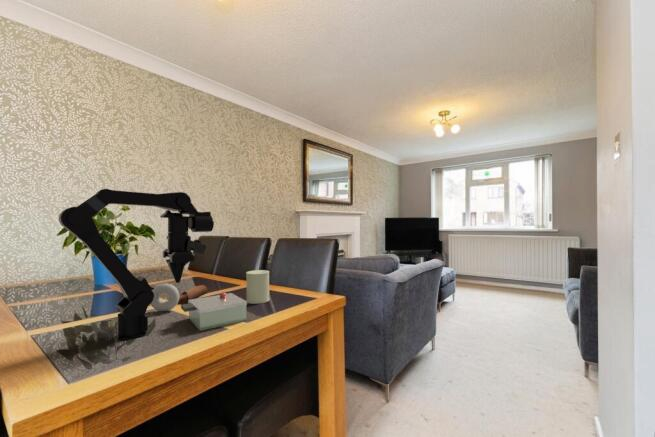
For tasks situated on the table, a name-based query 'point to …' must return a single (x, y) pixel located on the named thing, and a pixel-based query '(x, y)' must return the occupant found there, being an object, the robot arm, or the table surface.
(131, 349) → the table surface
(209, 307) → the lid
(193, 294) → the sunglasses case
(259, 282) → the can
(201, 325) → the shallow mint tray
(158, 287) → the donut
